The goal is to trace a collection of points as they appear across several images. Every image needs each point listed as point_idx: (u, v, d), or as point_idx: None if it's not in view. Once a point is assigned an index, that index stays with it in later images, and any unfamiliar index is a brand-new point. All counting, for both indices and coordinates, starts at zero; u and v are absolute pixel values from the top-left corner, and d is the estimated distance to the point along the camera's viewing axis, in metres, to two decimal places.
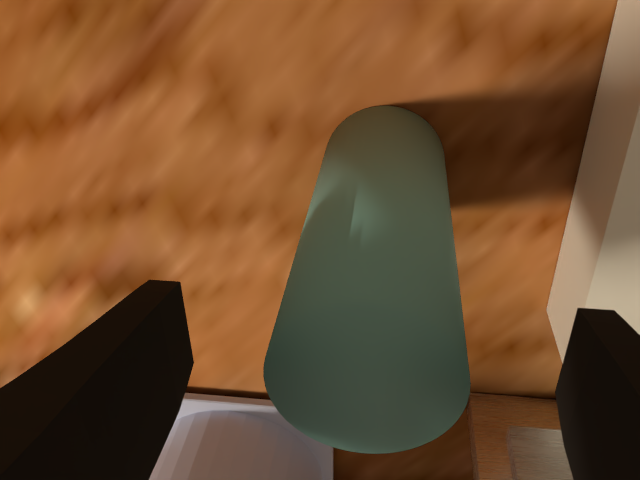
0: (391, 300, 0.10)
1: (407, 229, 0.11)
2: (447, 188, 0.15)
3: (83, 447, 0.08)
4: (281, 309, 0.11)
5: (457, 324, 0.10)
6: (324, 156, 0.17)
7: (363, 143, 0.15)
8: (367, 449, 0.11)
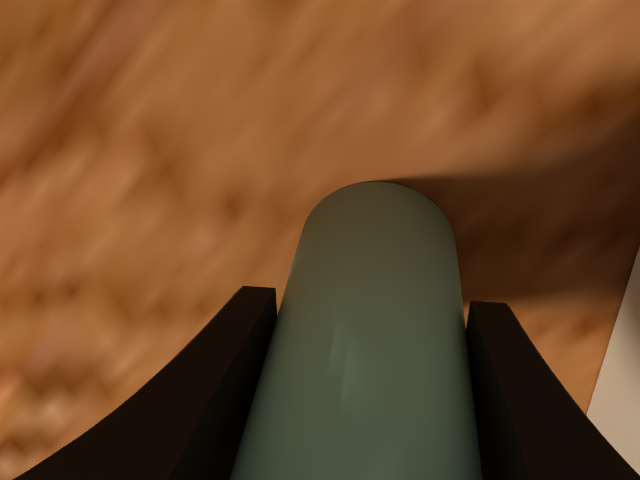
0: None
1: (406, 433, 0.07)
2: (462, 307, 0.11)
3: (210, 459, 0.08)
4: None
5: None
6: (297, 251, 0.13)
7: (346, 249, 0.11)
8: None
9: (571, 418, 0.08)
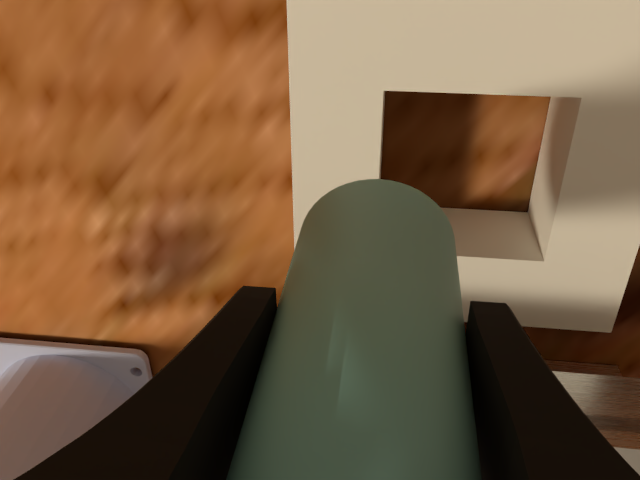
0: None
1: (404, 430, 0.07)
2: (461, 304, 0.11)
3: (210, 460, 0.08)
4: None
5: None
6: (295, 248, 0.13)
7: (345, 246, 0.11)
8: None
9: (571, 418, 0.08)
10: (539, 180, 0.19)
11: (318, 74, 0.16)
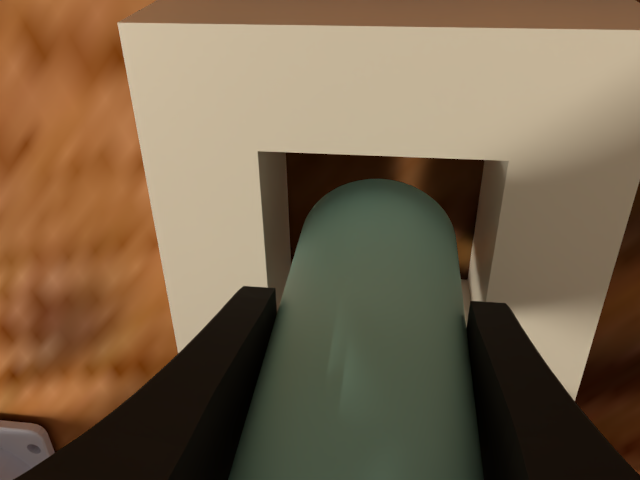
0: None
1: (406, 430, 0.07)
2: (462, 304, 0.11)
3: (210, 459, 0.08)
4: None
5: None
6: (296, 248, 0.12)
7: (346, 246, 0.11)
8: None
9: (571, 418, 0.08)
10: (476, 246, 0.16)
11: (173, 131, 0.12)
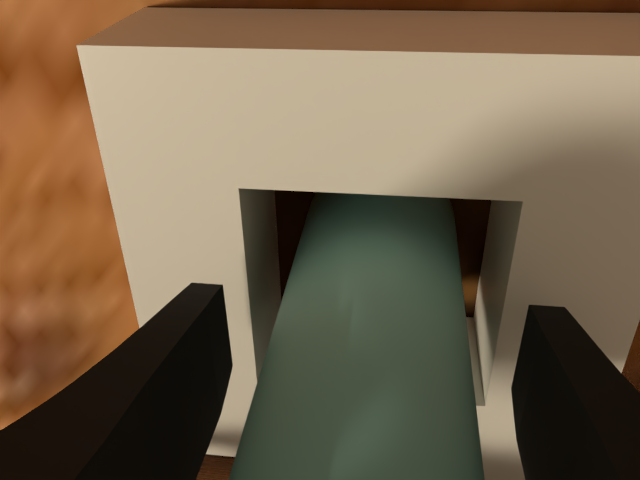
0: None
1: (408, 370, 0.08)
2: (460, 273, 0.12)
3: (140, 453, 0.08)
4: None
5: None
6: (305, 223, 0.13)
7: (352, 217, 0.12)
8: None
9: None
10: (483, 285, 0.14)
11: (144, 165, 0.11)
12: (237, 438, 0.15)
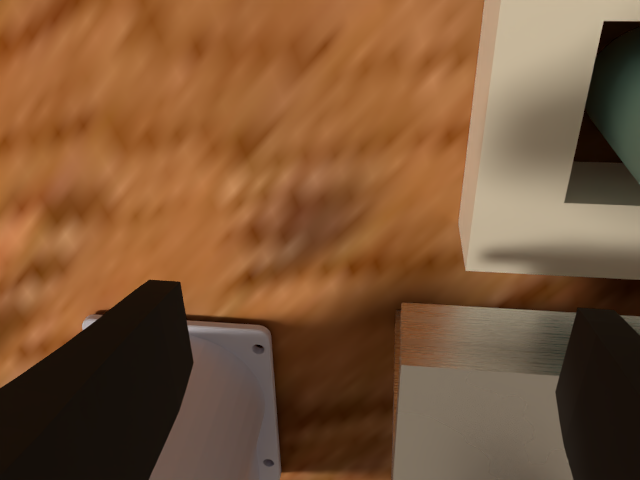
0: None
1: None
2: None
3: (83, 447, 0.08)
4: None
5: None
6: (605, 72, 0.17)
7: None
8: None
9: None
10: None
11: (533, 4, 0.15)
12: (531, 255, 0.18)
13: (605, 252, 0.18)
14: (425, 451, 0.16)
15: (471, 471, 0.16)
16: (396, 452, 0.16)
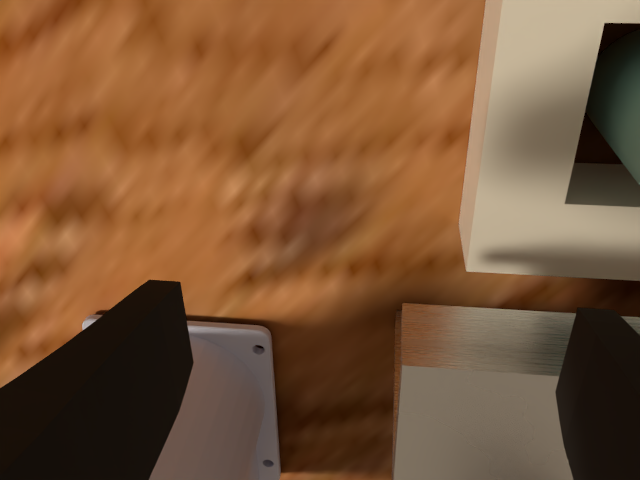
0: None
1: None
2: None
3: (83, 447, 0.08)
4: None
5: None
6: (606, 73, 0.17)
7: None
8: None
9: None
10: None
11: (534, 6, 0.15)
12: (531, 255, 0.18)
13: (605, 253, 0.18)
14: (426, 451, 0.16)
15: (472, 471, 0.16)
16: (397, 452, 0.16)
